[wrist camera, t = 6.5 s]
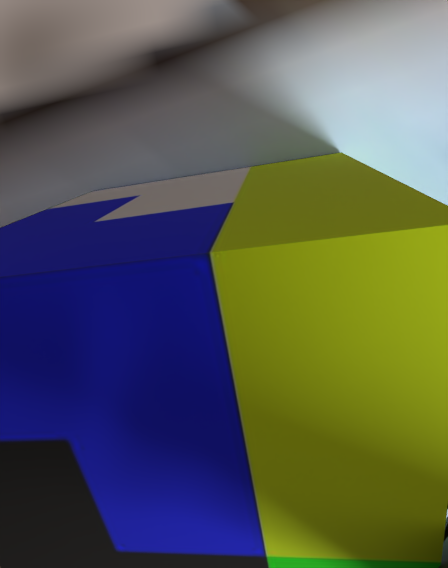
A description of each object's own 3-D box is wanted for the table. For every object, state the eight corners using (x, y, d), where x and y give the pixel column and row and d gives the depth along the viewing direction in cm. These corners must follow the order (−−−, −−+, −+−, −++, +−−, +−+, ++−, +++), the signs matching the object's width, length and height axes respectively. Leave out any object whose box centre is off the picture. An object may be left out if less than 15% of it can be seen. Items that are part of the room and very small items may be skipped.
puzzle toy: (91, 191, 15) (-175, 297, 6) (341, 152, 13) (478, 221, 4) (149, 384, 19) (36, 624, 10) (349, 374, 17) (431, 653, 8)
